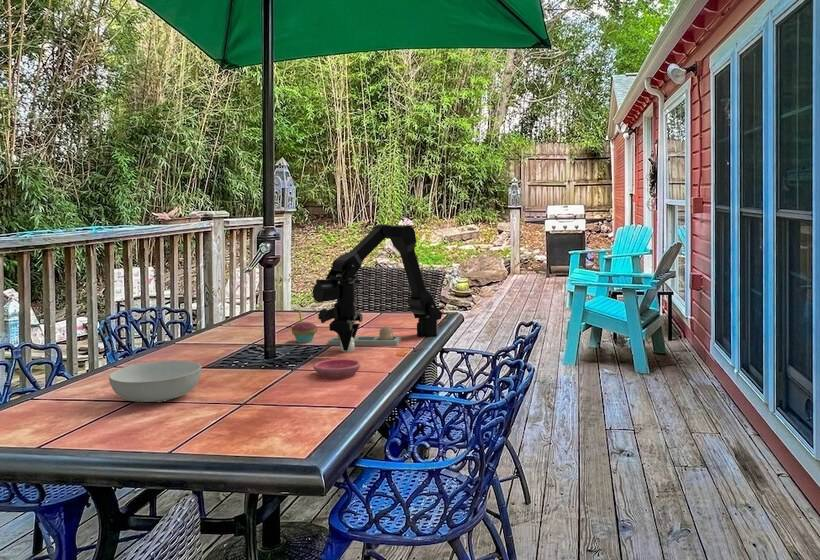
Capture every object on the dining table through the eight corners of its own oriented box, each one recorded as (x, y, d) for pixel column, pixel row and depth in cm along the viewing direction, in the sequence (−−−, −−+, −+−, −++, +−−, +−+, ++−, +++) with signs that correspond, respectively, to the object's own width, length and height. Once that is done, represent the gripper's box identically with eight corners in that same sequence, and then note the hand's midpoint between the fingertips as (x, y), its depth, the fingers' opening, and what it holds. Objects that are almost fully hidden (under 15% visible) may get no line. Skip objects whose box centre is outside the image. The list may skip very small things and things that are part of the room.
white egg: (356, 350, 213) (355, 333, 212) (353, 353, 209) (352, 336, 208) (342, 350, 214) (341, 333, 213) (339, 353, 209) (338, 336, 209)
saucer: (304, 375, 183) (304, 364, 183) (341, 367, 192) (340, 356, 191) (333, 383, 174) (333, 371, 174) (370, 374, 183) (369, 362, 183)
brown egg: (394, 341, 223) (393, 325, 223) (391, 344, 219) (391, 327, 218) (381, 341, 224) (380, 325, 223) (378, 344, 219) (377, 327, 219)
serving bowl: (93, 401, 162) (91, 373, 162) (171, 382, 179) (170, 356, 178) (141, 416, 149) (139, 385, 149) (220, 394, 166) (219, 366, 165)
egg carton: (401, 342, 225) (401, 336, 225) (397, 347, 217) (396, 341, 216) (335, 341, 228) (335, 336, 228) (328, 346, 220) (328, 340, 220)
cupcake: (286, 344, 226) (285, 308, 225) (302, 340, 233) (300, 305, 232) (308, 346, 222) (306, 310, 221) (323, 341, 229) (321, 306, 228)
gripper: (328, 295, 220) (330, 342, 221) (311, 303, 201) (313, 355, 203) (362, 295, 218) (363, 343, 220) (348, 303, 200) (350, 355, 201)
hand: (347, 348), depth 211 cm, fingers closed on white egg, 4 cm apart
